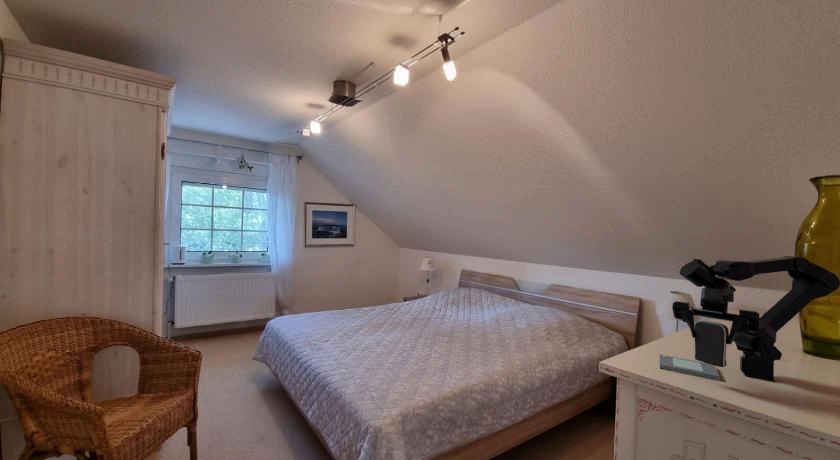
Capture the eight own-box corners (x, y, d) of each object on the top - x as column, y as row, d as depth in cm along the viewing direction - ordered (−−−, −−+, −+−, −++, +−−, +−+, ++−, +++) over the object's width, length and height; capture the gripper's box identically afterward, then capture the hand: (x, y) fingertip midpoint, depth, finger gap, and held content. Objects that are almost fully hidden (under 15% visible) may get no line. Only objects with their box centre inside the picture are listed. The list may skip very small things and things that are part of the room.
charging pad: (714, 368, 107) (714, 364, 107) (719, 380, 97) (719, 375, 97) (659, 358, 115) (659, 353, 115) (659, 368, 105) (659, 363, 105)
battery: (731, 367, 92) (731, 324, 92) (723, 368, 91) (723, 325, 91) (701, 358, 99) (701, 318, 99) (693, 359, 97) (693, 319, 97)
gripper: (673, 274, 105) (665, 315, 97) (760, 281, 91) (758, 330, 83) (678, 297, 110) (670, 338, 102) (760, 307, 97) (758, 355, 89)
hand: (710, 340), depth 94 cm, fingers closed on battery, 7 cm apart
